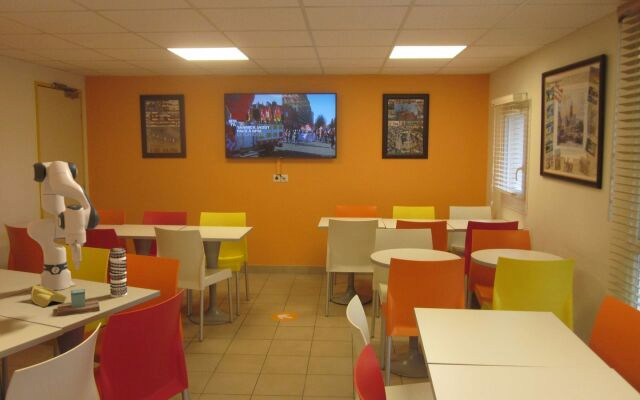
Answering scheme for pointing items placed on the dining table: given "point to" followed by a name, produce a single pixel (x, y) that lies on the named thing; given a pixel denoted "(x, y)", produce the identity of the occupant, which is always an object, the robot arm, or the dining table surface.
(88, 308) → the stub plate
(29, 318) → the dining table surface
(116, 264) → the brown white cylinder
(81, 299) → the housing cap
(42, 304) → the plastic component
